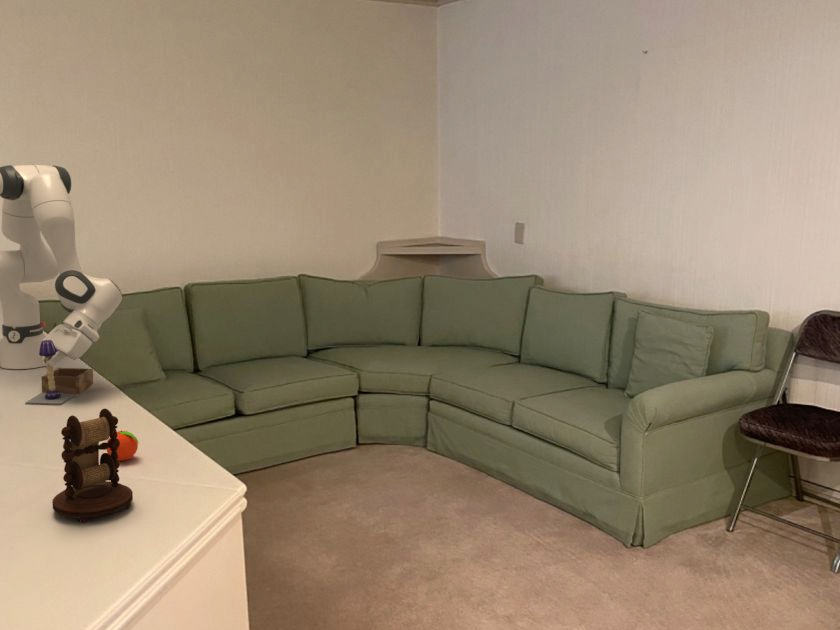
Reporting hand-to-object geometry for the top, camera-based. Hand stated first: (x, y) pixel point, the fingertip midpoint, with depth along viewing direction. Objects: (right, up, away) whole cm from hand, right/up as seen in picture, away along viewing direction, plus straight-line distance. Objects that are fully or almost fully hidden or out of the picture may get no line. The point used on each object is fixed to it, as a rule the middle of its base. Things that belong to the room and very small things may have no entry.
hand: (46, 363), depth 226 cm
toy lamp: (0, -10, +2) cm, 10 cm away
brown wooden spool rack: (+42, -25, -69) cm, 85 cm away
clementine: (+39, -20, -43) cm, 61 cm away
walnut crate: (0, -8, +15) cm, 17 cm away
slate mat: (0, -11, +2) cm, 11 cm away
